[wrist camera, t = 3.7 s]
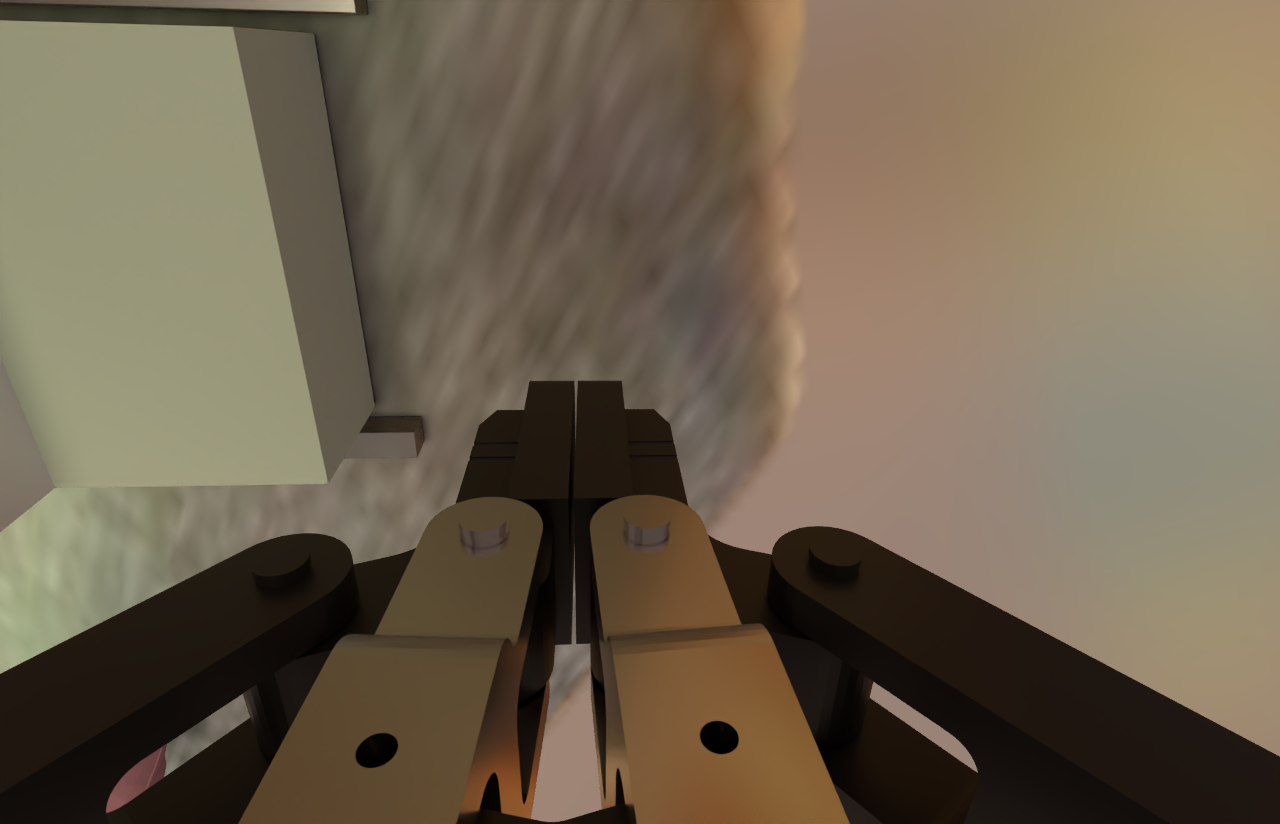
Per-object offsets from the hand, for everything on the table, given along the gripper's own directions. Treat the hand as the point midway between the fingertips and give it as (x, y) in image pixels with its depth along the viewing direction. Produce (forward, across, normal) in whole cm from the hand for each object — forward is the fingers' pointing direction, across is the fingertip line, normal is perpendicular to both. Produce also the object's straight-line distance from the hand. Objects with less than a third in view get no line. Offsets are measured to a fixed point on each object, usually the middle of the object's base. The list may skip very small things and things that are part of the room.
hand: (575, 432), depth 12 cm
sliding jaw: (+12, +12, 0) cm, 17 cm away
